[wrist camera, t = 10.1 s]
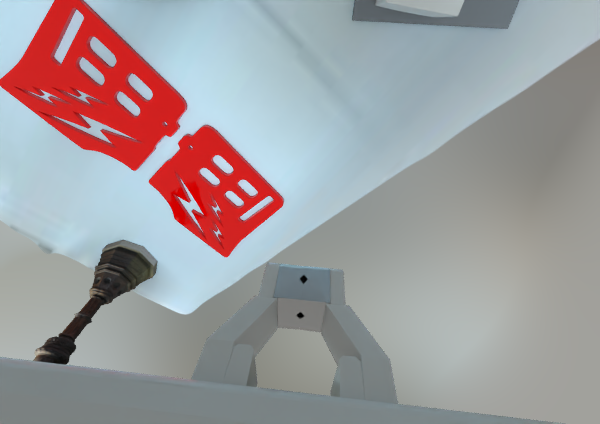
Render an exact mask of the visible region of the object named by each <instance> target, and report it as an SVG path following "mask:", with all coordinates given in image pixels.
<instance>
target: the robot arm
mask: <svg viewBox="0 0 600 424" xmlns="http://www.w3.org/2000/svg"><path fill="white" fill-rule="evenodd" d="M299 327H300V328H299ZM277 328H288V329H300V330H308V331H315V332H321V334H322V336H323V338H324V340H325V342H326V344H327V346H328V348H329V350H330V352H331V354H332V356H333V358H334V360H335V362H336V363H337V366H338V367H337V370H336V374H335V377H334V381H333V385H332V388H331V396H326V395H317V394H309V393H301V392H293V391H284V390H276V389H268V388H259V387H257V374H256V364H255V357H256V355H257V354H258V353H259V352H260V350H261V349H262V348H263V347H264V345H265V344H266V343H267V342H268V340H269V339H270V338H271V337H272V335H273V334H274V333H275V332H276V330H277ZM0 424H564V423H554V422H547V421H538V420H530V419H521V418H513V417H504V416H496V415H486V414H479V413H470V412H461V411H453V410H445V409H437V408H428V407H419V406H411V405H403V404H398V401H397V396H396V390H395V384H394V379H393V373H392V368H391V362H390V359H389V358H388V356H387V355H386V354H385V353H384V351H383V350H382V348H381V347H380V346H379V345H378V343H377V342H376V341H375V339H374V338H373V336H372V335H371V334H370V332H369V331H368V330H367V328H366V327H365V326H364V324H363V323H362V322H361V320H360V319H359V318H358V317H357V315H356V314H355V312H354V311H353V310H352V309H351V307H350V306H347V305H345V288H344V272H343V270H341V269H329V268H320V267H308V266H297V265H288V264H279V263H270V262H268V263H267V265H266V268H265V272H264V276H263V280H262V284H261V288H260V291H259V295H258V296H254V297H253V298H252V299H251V300H249V301H248V302H247V303H246V304H245V305H244V306H243V307H242V308H241V309H239V310H238V311H237V312H236V313H235V314H234V315H233V316H232V317H231V318H229V319H228V320H227V321H226V322H225V323H224V324H223V325H222V326H221V327H219V328H218V329H217V330H216V331H215V332H214V333H213V334H212V335H211V336H209V337H208V338H207V340H206V342H205V345H204V347H203V350H202V352H201V355H200V358H199V360H198V363H197V366H196V368H195V370H194V373H193V376H192V378H191V379H183V378H174V377H166V376H157V375H148V374H140V373H132V372H123V371H115V370H106V369H98V368H89V367H80V366H72V365H64V364H55V363H47V362H38V361H30V360H20V359H12V358H4V357H0Z"/></svg>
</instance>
